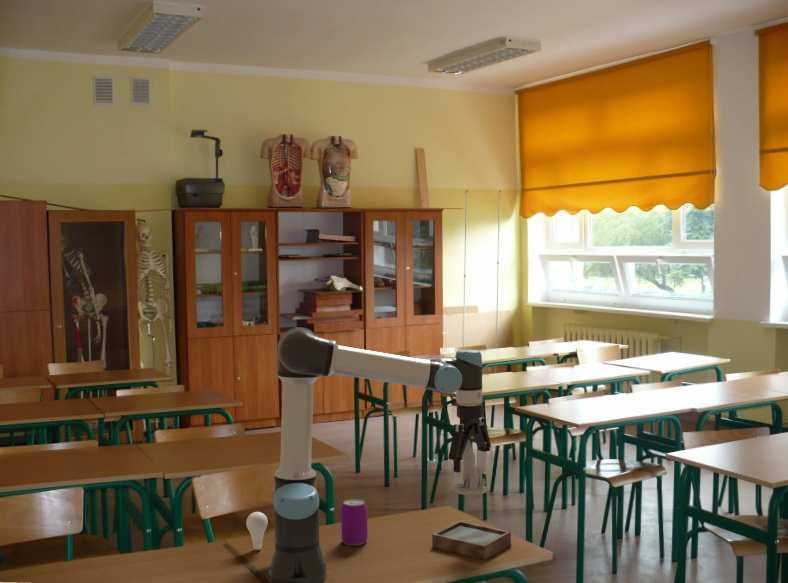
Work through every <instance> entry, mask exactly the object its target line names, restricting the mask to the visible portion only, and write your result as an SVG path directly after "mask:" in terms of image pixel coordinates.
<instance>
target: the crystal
mask: <svg viewBox="0 0 788 583" xmlns="http://www.w3.org/2000/svg"><path fill="white" fill-rule="evenodd" d="M470 440H471V439H469V440H468V442H467V445H466V448H465V450H464V453H463V456H462V459H461V460H463V475H464V483H463V484H459V483H455V484H456V485H454V487H453V489H452V490H453V493H455V494H456V495H457V494H458V495H462V496H463V495H464V496H477V495H479V496H480V495H483V494H486V493H487V492H488V491H487V490H488V489H487V486H486V479H485V477H484V478H482V475H481V473H480V469H479V465H478V466H477V464H476V455H475V452H474V450H473V447H472V444H471V441H470ZM451 472H452V473H451V474H452V475H451V476H452V478H453V479H454V467H452V471H451Z"/></svg>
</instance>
